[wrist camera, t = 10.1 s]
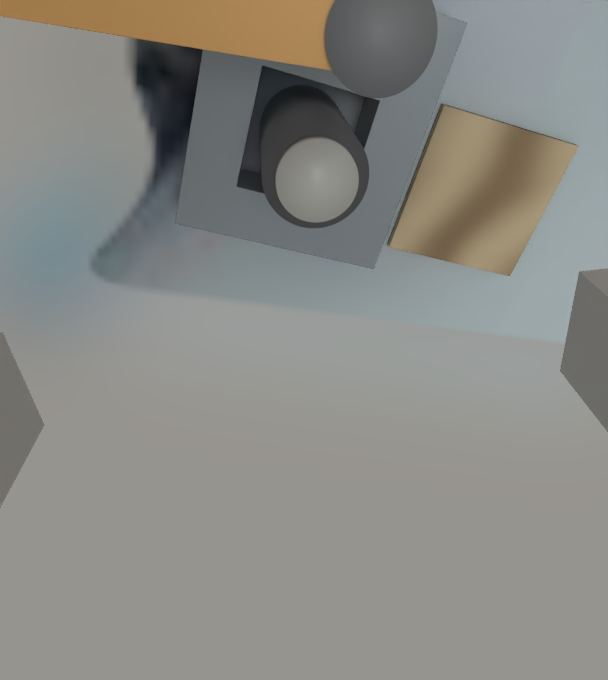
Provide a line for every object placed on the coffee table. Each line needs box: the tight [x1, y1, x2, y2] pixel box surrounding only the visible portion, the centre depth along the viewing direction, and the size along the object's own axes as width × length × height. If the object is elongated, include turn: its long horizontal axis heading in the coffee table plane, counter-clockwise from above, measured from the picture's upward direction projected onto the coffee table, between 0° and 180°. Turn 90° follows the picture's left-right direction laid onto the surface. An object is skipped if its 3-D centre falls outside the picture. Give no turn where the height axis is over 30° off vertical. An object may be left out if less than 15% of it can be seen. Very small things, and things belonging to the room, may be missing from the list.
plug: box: [260, 85, 369, 228], centre depth 28 cm, size 5×5×10 cm
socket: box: [175, 12, 467, 269], centre depth 27 cm, size 12×14×10 cm
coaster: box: [388, 104, 579, 276], centre depth 35 cm, size 9×9×1 cm
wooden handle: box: [0, 0, 438, 98], centre depth 18 cm, size 4×15×3 cm, turn 81°
